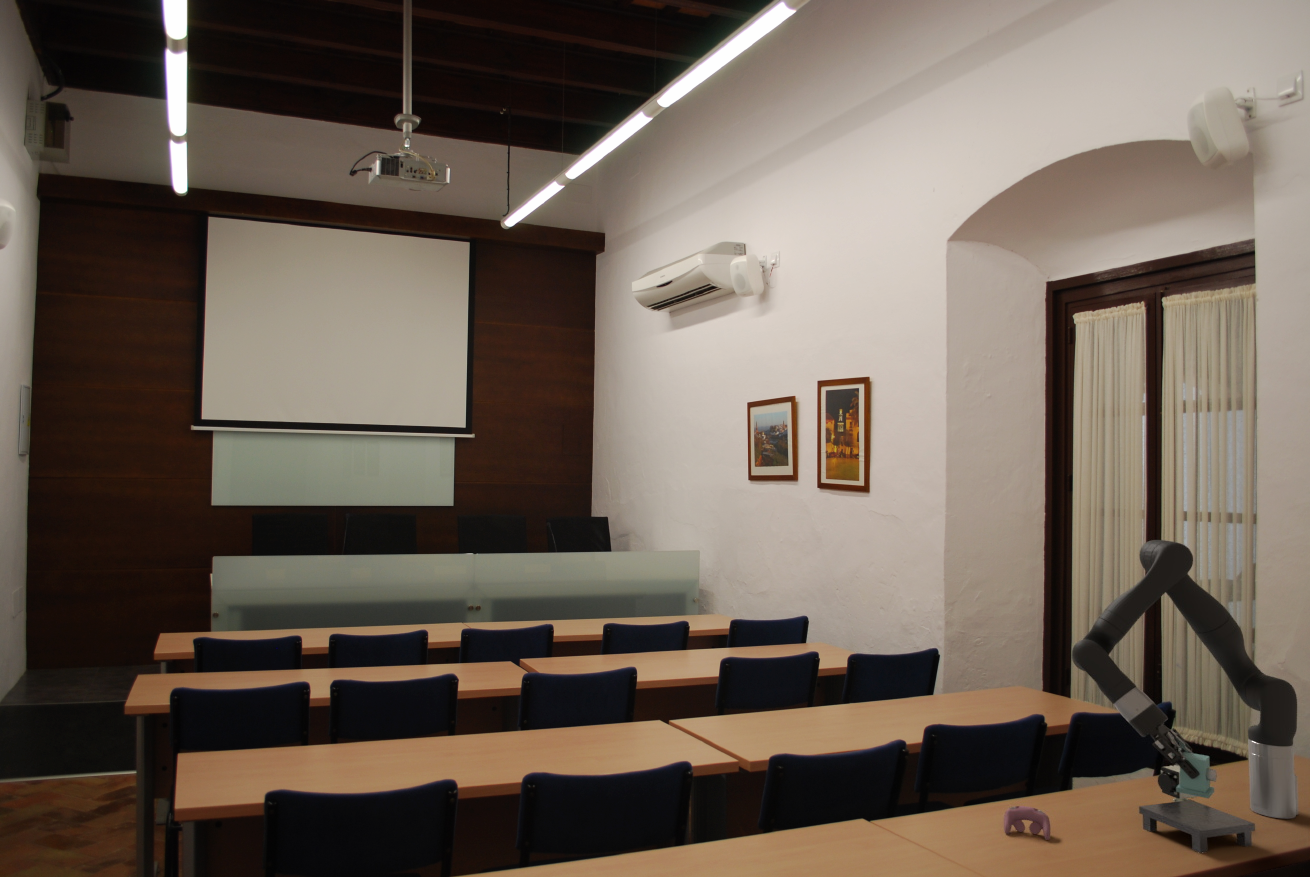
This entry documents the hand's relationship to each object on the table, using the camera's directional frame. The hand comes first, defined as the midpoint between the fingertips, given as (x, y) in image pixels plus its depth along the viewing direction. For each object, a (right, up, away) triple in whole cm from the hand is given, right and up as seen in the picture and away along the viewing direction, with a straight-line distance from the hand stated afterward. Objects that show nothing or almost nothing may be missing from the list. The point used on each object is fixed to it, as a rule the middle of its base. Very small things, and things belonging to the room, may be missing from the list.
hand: (1198, 773), depth 202 cm
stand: (-1, -14, -1) cm, 14 cm away
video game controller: (-39, -14, 0) cm, 42 cm away
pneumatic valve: (+5, -16, +15) cm, 22 cm away
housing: (-1, -4, 0) cm, 4 cm away
